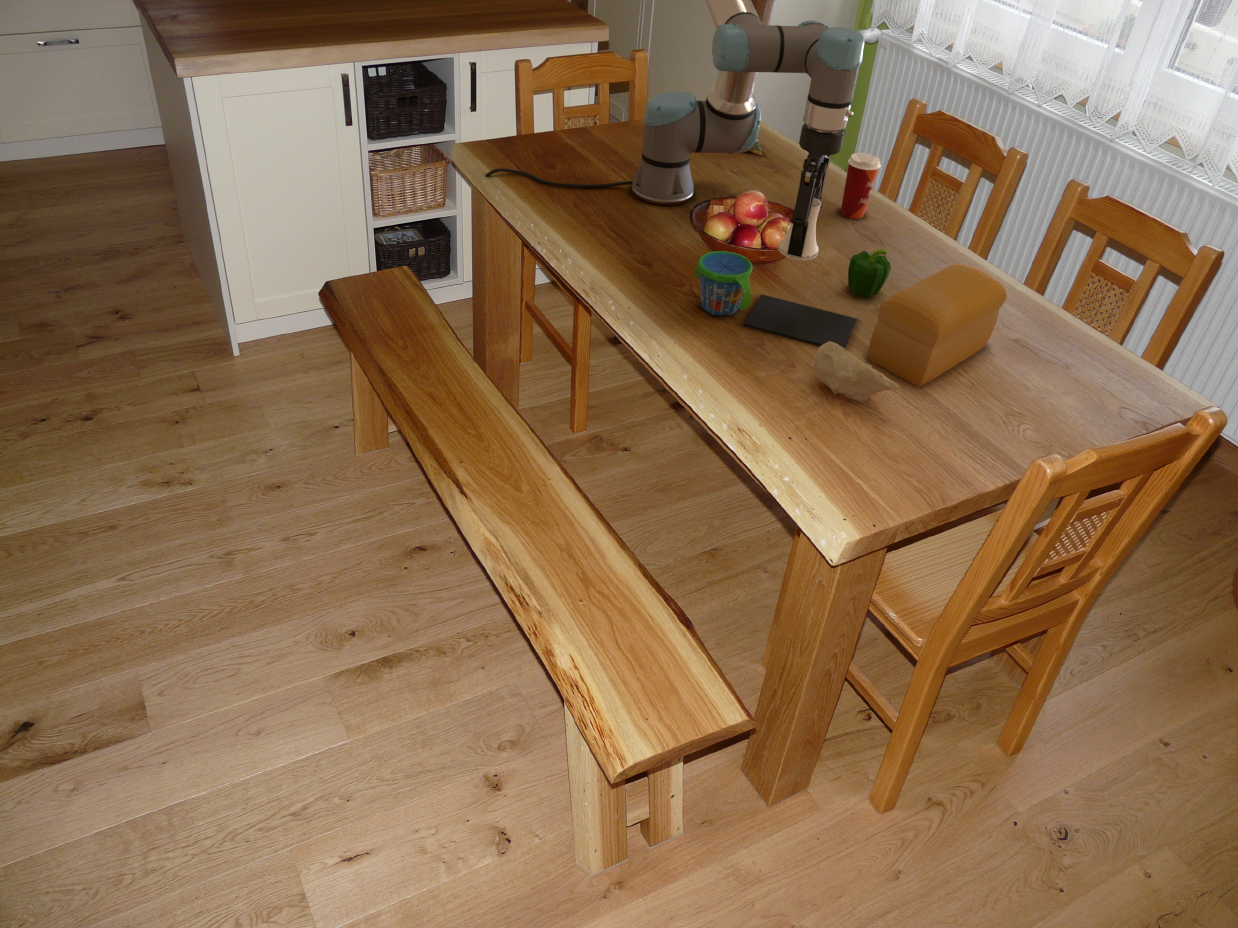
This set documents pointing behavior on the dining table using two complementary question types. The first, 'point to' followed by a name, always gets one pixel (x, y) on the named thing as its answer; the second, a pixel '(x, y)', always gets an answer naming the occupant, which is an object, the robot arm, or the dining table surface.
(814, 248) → the vase
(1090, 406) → the dining table surface
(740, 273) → the snack cup
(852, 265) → the bell pepper
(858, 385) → the beige lumpy piece
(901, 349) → the bread
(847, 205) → the paper cup
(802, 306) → the placemat
